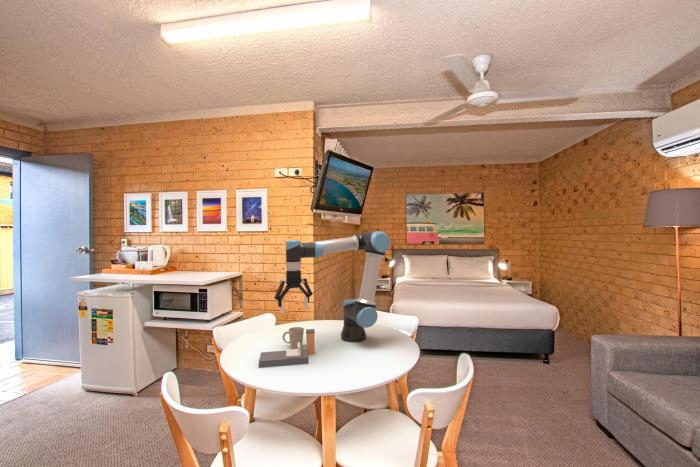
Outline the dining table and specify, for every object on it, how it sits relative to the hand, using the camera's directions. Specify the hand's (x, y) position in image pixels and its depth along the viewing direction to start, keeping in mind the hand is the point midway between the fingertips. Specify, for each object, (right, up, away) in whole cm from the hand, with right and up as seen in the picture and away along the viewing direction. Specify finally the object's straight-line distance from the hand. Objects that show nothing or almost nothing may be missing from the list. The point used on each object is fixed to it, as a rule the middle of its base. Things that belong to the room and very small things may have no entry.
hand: (294, 311), depth 167 cm
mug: (-3, -23, +14) cm, 27 cm away
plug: (+8, -23, +4) cm, 24 cm away
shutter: (+1, -20, -6) cm, 20 cm away
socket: (-4, -23, -7) cm, 24 cm away
